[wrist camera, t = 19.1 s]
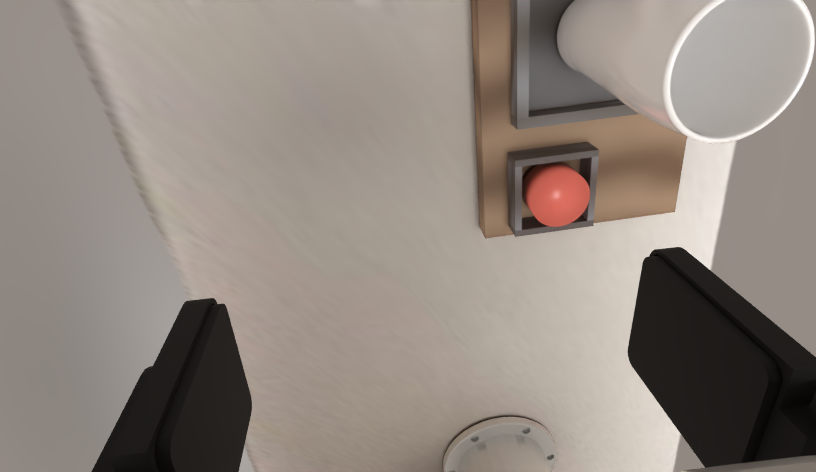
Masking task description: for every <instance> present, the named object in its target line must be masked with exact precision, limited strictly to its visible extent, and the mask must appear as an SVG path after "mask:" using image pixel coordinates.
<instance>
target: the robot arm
mask: <svg viewBox="0 0 816 472" xmlns="http://www.w3.org/2000/svg"><path fill="white" fill-rule="evenodd" d="M628 357H629V361H630V363H631V365H632V367H633V368H634V370H635V371H636V372H637V374H638V375H639V376H640V378H641V379H642V381H643V382H644V383H645V385H646V386H647V388H648V389H649V390H650V392H651V393H652V394H653V396H654V397H655V399H656V400H657V401H658V403H659V404H660V406H661V407H662V408H663V410H664V411H665V412H666V414H667V415H668V417H669V418H670V419H671V421H672V422H673V424H674V425H675V426H676V428H677V429H678V430H679V432H680V433H681V435H682V436H683V437H684V439H685V440H686V441H687V443H688V444H689V446H690V447H691V448H692V450H693V451H694V453H695V454H696V455H697V457H698V458H699V459H700V461H701V462H702V464H703V465H704V466H705V468H700V469H693V470H685V471H677V472H816V357H815V356H813V355H812V354H811V353H810V352H808V351H807V350H806V349H805V348H804V347H802V346H801V345H800V344H799V343H798V342H796V341H795V340H794V339H793V338H792V337H790V336H789V335H788V334H787V333H785V332H784V331H783V330H782V329H781V328H779V327H778V326H777V325H776V324H775V323H773V322H772V321H771V320H770V319H769V318H767V317H766V316H765V315H764V314H762V313H761V312H760V311H759V310H758V309H756V308H755V307H754V306H753V305H752V304H750V303H749V302H748V301H747V300H745V299H744V298H743V297H742V296H741V295H739V294H738V293H737V292H736V291H734V290H733V289H732V288H731V287H730V286H728V285H727V284H726V283H725V282H724V281H722V280H721V279H720V278H719V277H717V276H716V275H715V274H714V273H713V272H711V271H710V270H709V269H708V268H707V267H705V266H704V265H703V264H702V263H700V262H699V261H698V260H697V259H696V258H694V257H693V256H692V255H691V254H690V253H688V252H687V251H686V250H685V249H683V248H681V247H675V248H666V249H657V250H654V251H652V252H651V254H650V256H649V257H646V258H645V259H644V261H643V265H642V271H641V276H640V282H639V288H638V294H637V300H636V305H635V311H634V317H633V323H632V329H631V334H630V340H629V346H628ZM251 411H252V401H251V395H250V391H249V387H248V384H247V380H246V377H245V373H244V369H243V366H242V362H241V358H240V355H239V351H238V347H237V344H236V340H235V336H234V333H233V329H232V326H231V322H230V318H229V315H228V311H227V308H226V306H225V304H217V302H216V300H215V299H214V298H209V299H200V300H191V301H186V302H185V303H184V304H183V306H182V308H181V310H180V312H179V315H178V316H177V318H176V320H175V322H174V324H173V327H172V329H171V331H170V333H169V335H168V337H167V339H166V341H165V343H164V345H163V347H162V349H161V351H160V353H159V355H158V357H157V359H156V361H155V363H154V365H153V366H151V367H148V368H146V369H145V370H144V372H143V373H142V375H141V376H140V378H139V380H138V382H137V384H136V386H135V388H134V390H133V392H132V394H131V396H130V398H129V400H128V402H127V404H126V406H125V408H124V409H123V411H122V413H121V415H120V417H119V419H118V421H117V423H116V425H115V427H114V429H113V431H112V433H111V435H110V437H109V439H108V441H107V443H106V445H105V447H104V449H103V451H102V452H101V454H100V456H99V458H98V460H97V463H96V464H95V466H94V468H93V470H92V472H238V471H239V467H240V462H241V458H242V453H243V449H244V444H245V439H246V435H247V430H248V426H249V421H250V416H251ZM556 460H557V449H556V445H555V442H554V440H553V438H552V436H551V434H550V433H549V431H548V430H547V429H546V428H544V427H543V426H542V425H540V424H539V423H537V422H535V421H532V420H529V419H526V418H519V417H501V418H494V419H490V420H487V421H483V422H481V423H478V424H476V425H474V426H472V427H470V428H469V429H467V430H465V431H464V432H462V433H461V434H460V435H459V436H458V437H457V438H456V439H454V441H453V442H452V443H451V444H450V446H449V447H448V449H447V451H446V453H445V456H444V460H443V470H444V472H551V471H552V470H553V468H554V466H555V463H556Z"/></svg>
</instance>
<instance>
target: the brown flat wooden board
mask: <svg viewBox="0 0 816 472" xmlns="http://www.w3.org/2000/svg"><path fill="white" fill-rule="evenodd" d="M573 1H574V0H471V10H472V36H473V62H474V88H475V115H476V141H477V167H478V194H479V220H480V229H481V231H482V233H483V235H484V237H485V238H491V237H498V236H505V235H512V234H514V235H515V237H517V236H524V235H531V234H538V233H545V232H552V231H559V230H567V229H574V228H581V227H588V226H593V223H598V222H605V221H613V220H620V219H627V218H634V217H641V216H648V215H655V214H663V213H670V212H675V208H676V201H677V195H678V189H679V183H680V176H681V170H682V164H683V158H684V151H685V145H686V139H687V137H686V136H683V135H681V134H678V133H676V132H673V131H671V130H669V129H666V128H664V127H662V126H660V125H658V124H656V123H654V122H652V121H650V120H648V119H647V118H645V117H643V116H642V115H640V114H638V113H637V112H635V111H634V110H632V109H631V108H630V107H628V106H627V105H625V104H624V103H622V102H621V101H620V100H618V99H617V98H616V97H614V96H613V95H611V94H610V93H609V92H607V91H606V90H605V89H603V88H602V87H600V86H599V85H598V84H596V83H595V82H593V81H592V80H591V79H589V78H588V77H586V76H585V75H583V74H581V73H579V72H577V71H575V70H573V69H572V68H570V67H569V66H568V65H567V64H566V63H565V62H564V61H563V59H562V57H561V56H560V53H559V50H558V47H557V30H558V26H559V22H560V20H561V17H562V15H563V14H564V12H565V10H566V9H567V8H568V6H569V5H570V4H571V3H572V2H573ZM560 161H562V162H564V163H566V164H568V165H569V166H570V167H572V168H573V169H574V170H575V171H576V172H577V173H578V174H580V175H581V176H582V177H583V178H584V179H585V180H586V182H587V184H588V186H589V189H590V199H589V203H588V205H587V207H586V209H585V211H584V212H583V213H582V215H581V216H580V217H579V218H577V219H576V220H575V221H573V222H571V223H569V224H567V225H564V226H560V227H551V226H547V225H544V224H542V223H541V222H539V221H538V220H537V219H536V217H535V216H534V215H533V214H532V212H531V211H530V210H529V208H528V207H527V206H526V204H525V203H524V201H523V198H522V184H523V181H524V179H525V177H526V176H527V174H528V173H529V172H530V171H531V170H532V169H533V168H534V167H535V166H537V165H539V164H545V163H552V162H560Z"/></svg>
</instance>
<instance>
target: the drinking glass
mask: <svg viewBox="0 0 816 472" xmlns="http://www.w3.org/2000/svg"><path fill="white" fill-rule="evenodd" d="M814 46H815V31H814V25H813V21H812V17H811V14H810V12H809V10H808V8H807V6H806V5H805V3H804V2H803V1H802V0H574V1H573V2H572V3H571V4H570V5H569V6H568V8H567V9H566V10H565V12H564V14H563V15H562V17H561V20H560V22H559V26H558V30H557V47H558V50H559V53H560V56H561V57H562V59H563V61H564V62H565V63H566V64H567V65H568V66H569V67H570V68H572V69H573V70H575V71H577V72H579V73H581V74H583V75H585V76H586V77H588V78H589V79H591V80H592V81H593V82H595V83H596V84H598V85H599V86H600V87H602V88H603V89H605V90H606V91H607V92H609V93H610V94H611V95H613V96H614V97H616V98H617V99H618V100H620V101H621V102H622V103H624V104H625V105H627V106H628V107H630V108H631V109H632V110H634V111H635V112H637V113H638V114H640V115H642V116H643V117H645V118H647V119H648V120H650V121H652V122H654V123H656V124H658V125H660V126H662V127H664V128H666V129H669V130H671V131H673V132H676V133H678V134H681V135H683V136H686V137H689V138H691V139H693V140H696V141H699V142H703V143H726V142H732V141H735V140H739V139H741V138H744V137H746V136H749V135H751V134H753V133H755V132H756V131H758V130H760V129H761V128H763V127H765V126H766V125H767V124H769V123H770V122H771V121H773V120H774V119H775V118H776V117H777V116H778V115H779V114H780V113H781V112H782V111H783V110H784V109H785V108H786V107H787V106H788V105H789V103H790V102H791V101H792V100H793V98H794V97H795V95H796V94H797V92H798V91H799V89H800V88H801V86H802V84H803V82H804V80H805V78H806V76H807V73H808V71H809V68H810V65H811V62H812V58H813V53H814Z"/></svg>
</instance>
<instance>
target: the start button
mask: <svg viewBox="0 0 816 472" xmlns="http://www.w3.org/2000/svg"><path fill="white" fill-rule="evenodd" d="M522 198H523V201H524V203H525V204H526V206H527V207H528V208H529V210H530V211H531V212H532V214H533V215H534V216H535V217H536V219H537V220H538V221H539V222H541V223H542V224H544V225H547V226H551V227H560V226H564V225H567V224H569V223H571V222H573V221H575V220H576V219H577V218H579V217H580V216H581V215H582V213H583V212H584V211H585V209H586V207H587V205H588V203H589V199H590V189H589V186H588V184H587V182H586V180H585V179H584V178H583V177H582V176H581V175H580V174H578V173H577V172H576V171H575V170H574V169H573V168H572V167H570V166H569V165H568V164H566V163H564V162H562V161H560V162H552V163H545V164H539V165H537V166H535V167H534V168H533V169H532V170H531V171H530V172H529V173H528V174H527V176H526V177H525V179H524V181H523V184H522Z"/></svg>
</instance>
